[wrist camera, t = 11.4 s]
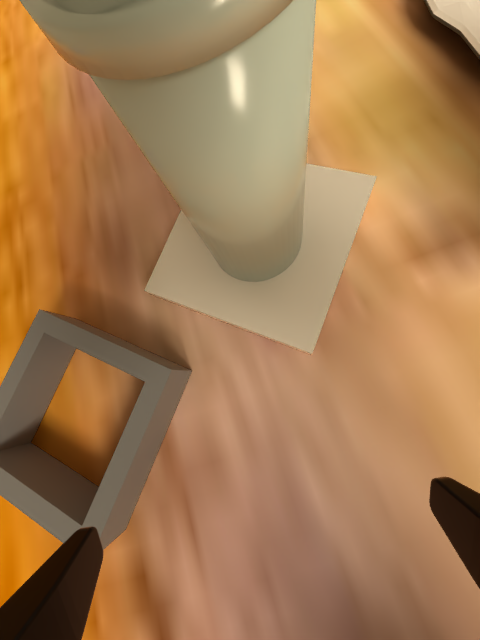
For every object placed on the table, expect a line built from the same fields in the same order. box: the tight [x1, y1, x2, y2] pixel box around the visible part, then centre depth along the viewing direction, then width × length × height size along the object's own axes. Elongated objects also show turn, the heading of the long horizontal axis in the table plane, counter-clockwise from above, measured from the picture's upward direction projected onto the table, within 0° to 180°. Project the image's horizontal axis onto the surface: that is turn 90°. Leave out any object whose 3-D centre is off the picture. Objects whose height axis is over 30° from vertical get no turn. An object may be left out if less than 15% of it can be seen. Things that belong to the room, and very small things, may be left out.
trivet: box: [144, 164, 377, 355], centre depth 18 cm, size 12×12×1 cm
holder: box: [0, 309, 192, 550], centre depth 17 cm, size 10×10×3 cm
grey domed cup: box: [20, 0, 316, 282], centre depth 11 cm, size 9×7×13 cm
